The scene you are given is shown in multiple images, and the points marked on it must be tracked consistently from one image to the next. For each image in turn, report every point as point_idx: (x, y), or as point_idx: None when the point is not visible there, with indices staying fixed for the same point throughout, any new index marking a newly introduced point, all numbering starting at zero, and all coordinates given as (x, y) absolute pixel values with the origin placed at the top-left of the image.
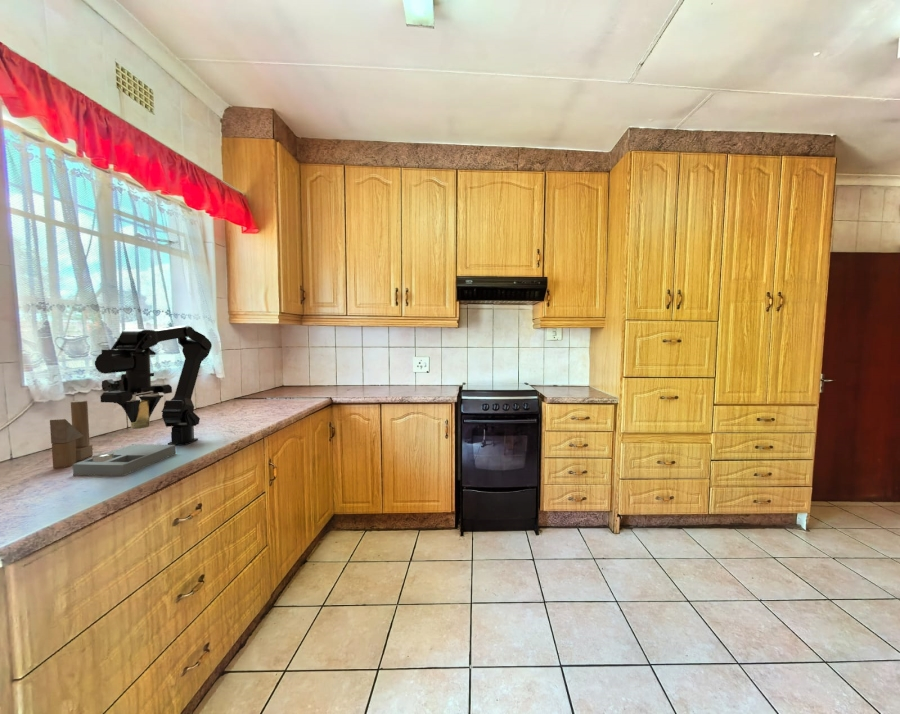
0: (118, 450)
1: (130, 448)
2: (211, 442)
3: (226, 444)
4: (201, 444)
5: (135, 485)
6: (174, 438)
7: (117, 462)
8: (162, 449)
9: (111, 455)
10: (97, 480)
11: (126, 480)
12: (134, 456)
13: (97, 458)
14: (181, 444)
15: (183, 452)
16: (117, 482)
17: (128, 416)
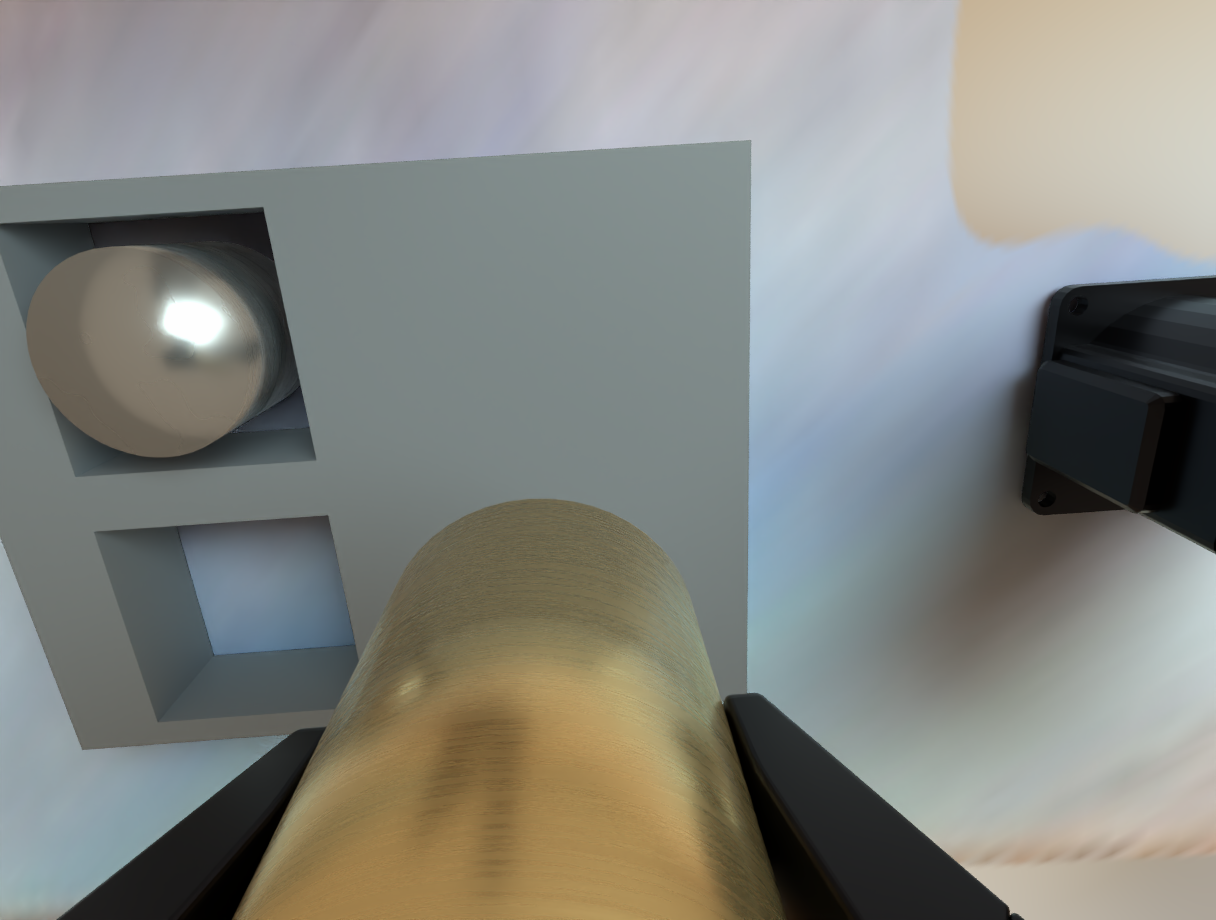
0: (456, 224)
1: (560, 306)
2: (1102, 681)
3: (1015, 842)
4: (1038, 638)
5: (54, 901)
6: (1075, 425)
7: (115, 642)
8: None
9: (183, 451)
10: (3, 574)
11: (93, 778)
12: (350, 590)
13: (49, 388)
14: (1029, 468)
15: (775, 666)
16: (41, 754)
17: (153, 865)
